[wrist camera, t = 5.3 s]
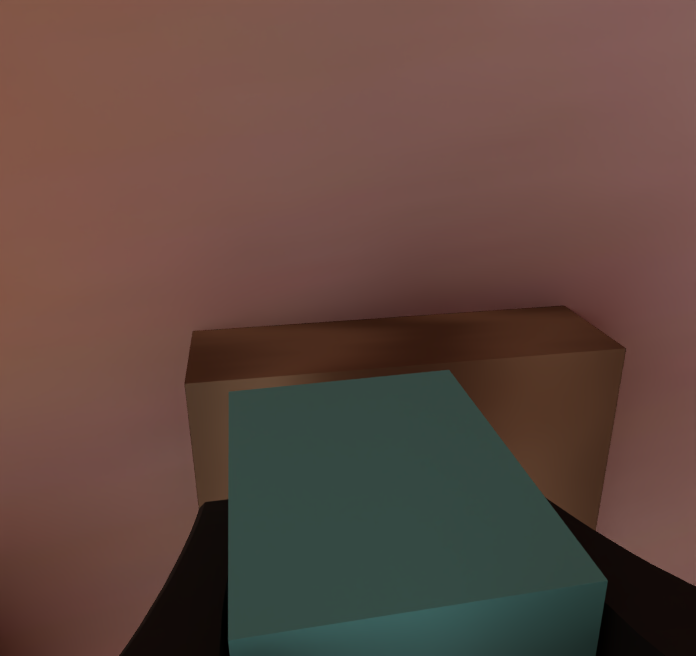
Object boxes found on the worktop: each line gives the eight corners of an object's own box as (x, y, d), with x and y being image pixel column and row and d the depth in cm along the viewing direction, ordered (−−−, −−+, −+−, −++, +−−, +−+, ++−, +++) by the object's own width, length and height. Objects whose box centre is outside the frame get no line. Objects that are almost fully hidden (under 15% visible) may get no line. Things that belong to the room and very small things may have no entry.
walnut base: (224, 621, 24) (223, 720, 20) (193, 326, 19) (184, 383, 16) (524, 580, 26) (572, 664, 22) (558, 301, 21) (625, 348, 18)
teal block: (247, 571, 14) (259, 887, 9) (228, 391, 12) (228, 640, 7) (442, 544, 15) (568, 820, 9) (448, 369, 13) (608, 581, 8)
